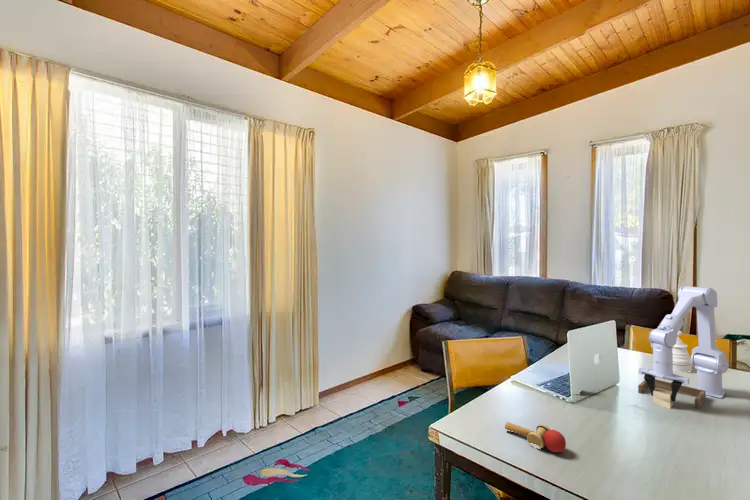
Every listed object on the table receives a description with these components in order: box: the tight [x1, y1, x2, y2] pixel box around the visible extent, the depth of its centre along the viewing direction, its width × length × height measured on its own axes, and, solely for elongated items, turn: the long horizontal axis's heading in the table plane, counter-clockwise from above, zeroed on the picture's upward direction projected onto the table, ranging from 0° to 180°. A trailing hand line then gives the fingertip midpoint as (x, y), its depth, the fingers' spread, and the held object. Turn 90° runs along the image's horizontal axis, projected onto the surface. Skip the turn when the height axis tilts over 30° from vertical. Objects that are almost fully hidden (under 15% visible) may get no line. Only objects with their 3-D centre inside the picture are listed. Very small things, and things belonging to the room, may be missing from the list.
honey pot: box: [673, 330, 693, 373], centre depth 166 cm, size 13×13×18 cm
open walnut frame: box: [637, 378, 707, 409], centre depth 137 cm, size 13×18×3 cm
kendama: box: [504, 421, 567, 454], centre depth 106 cm, size 8×6×18 cm
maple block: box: [652, 387, 675, 409], centre depth 130 cm, size 5×5×5 cm
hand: (663, 397), depth 130 cm, fingers open, 5 cm apart
